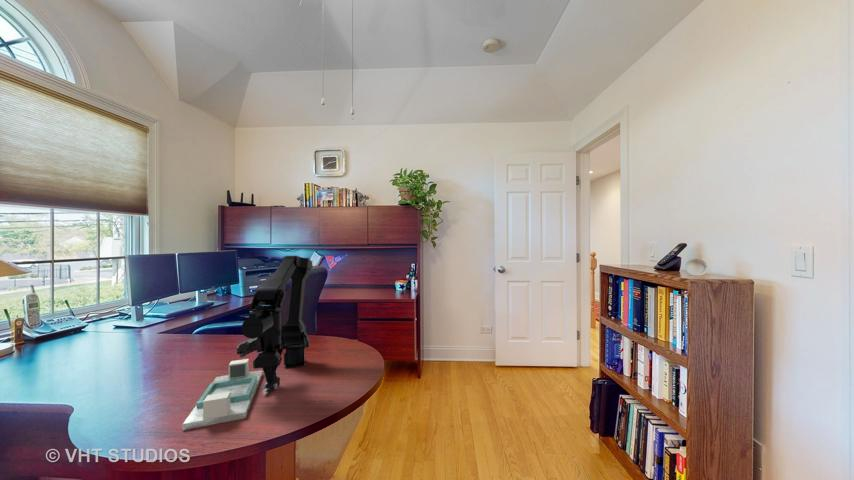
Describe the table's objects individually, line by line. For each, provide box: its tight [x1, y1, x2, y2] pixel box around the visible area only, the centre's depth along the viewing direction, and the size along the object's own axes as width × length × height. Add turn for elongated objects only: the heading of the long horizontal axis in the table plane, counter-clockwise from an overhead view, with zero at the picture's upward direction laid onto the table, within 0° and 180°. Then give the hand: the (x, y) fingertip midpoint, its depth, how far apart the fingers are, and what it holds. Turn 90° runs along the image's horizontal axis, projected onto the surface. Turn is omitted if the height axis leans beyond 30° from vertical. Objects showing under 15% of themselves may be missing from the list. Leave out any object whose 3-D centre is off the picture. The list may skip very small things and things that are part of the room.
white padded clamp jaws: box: [203, 358, 250, 420], centre depth 84 cm, size 5×26×4 cm, turn 21°
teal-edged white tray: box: [182, 369, 263, 431], centre depth 84 cm, size 13×26×3 cm, turn 21°
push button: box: [262, 356, 283, 396], centre depth 88 cm, size 7×5×10 cm
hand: (270, 378), depth 88 cm, fingers closed on push button, 4 cm apart
